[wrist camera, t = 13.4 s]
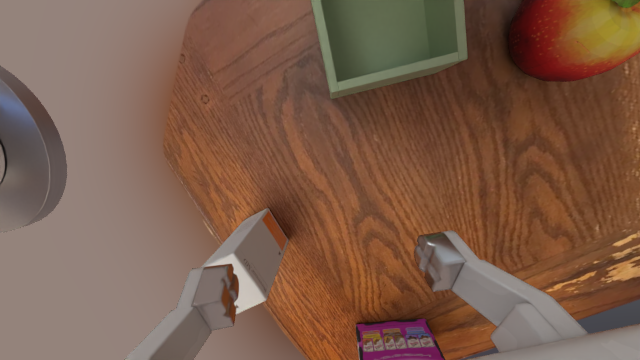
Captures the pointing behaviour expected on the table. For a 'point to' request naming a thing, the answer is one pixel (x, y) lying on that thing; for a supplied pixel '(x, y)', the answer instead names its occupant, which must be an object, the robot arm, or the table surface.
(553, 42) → the fruit
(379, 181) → the table surface
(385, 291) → the table surface
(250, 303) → the cosmetic box
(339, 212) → the table surface
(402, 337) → the candy bar box
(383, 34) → the chest
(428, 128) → the table surface
